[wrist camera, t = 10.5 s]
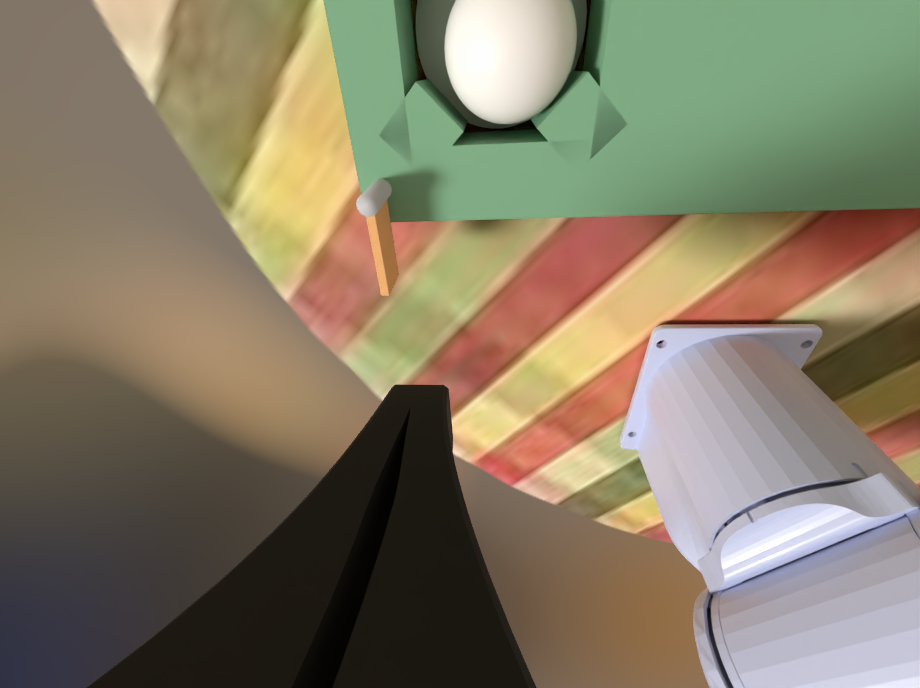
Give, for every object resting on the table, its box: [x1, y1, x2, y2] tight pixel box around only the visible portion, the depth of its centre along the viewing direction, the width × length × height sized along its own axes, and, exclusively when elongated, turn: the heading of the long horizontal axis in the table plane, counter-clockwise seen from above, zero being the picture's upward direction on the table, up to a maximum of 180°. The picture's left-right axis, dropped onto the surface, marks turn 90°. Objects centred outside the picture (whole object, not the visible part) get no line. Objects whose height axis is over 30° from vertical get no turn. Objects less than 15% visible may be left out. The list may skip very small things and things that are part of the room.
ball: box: [444, 0, 577, 124], centre depth 12 cm, size 4×4×4 cm
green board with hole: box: [324, 0, 920, 296], centre depth 11 cm, size 13×26×5 cm, turn 93°
